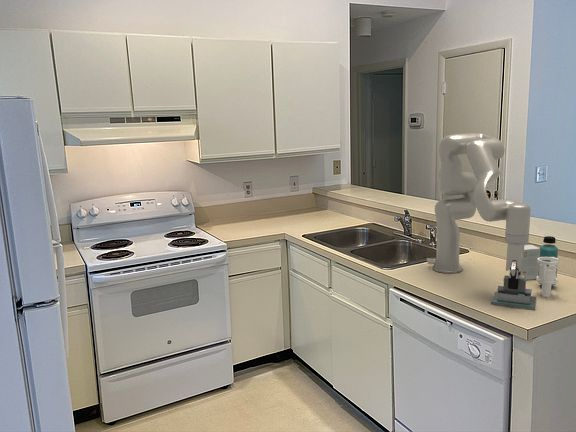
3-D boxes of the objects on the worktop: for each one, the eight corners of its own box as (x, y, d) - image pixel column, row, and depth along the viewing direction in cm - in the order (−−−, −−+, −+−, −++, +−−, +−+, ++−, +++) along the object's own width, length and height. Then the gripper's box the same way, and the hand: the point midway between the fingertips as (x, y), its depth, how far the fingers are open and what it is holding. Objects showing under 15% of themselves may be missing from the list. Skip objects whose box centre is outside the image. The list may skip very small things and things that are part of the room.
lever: (496, 299, 177) (497, 275, 176) (498, 295, 181) (499, 272, 179) (530, 303, 172) (532, 278, 170) (531, 299, 176) (532, 275, 174)
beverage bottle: (558, 286, 190) (561, 236, 186) (553, 291, 185) (557, 239, 181) (540, 282, 194) (543, 233, 190) (535, 287, 190) (537, 237, 186)
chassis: (491, 304, 175) (491, 292, 174) (494, 294, 185) (495, 282, 184) (534, 310, 169) (535, 297, 168) (536, 299, 178) (537, 287, 177)
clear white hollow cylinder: (550, 300, 176) (553, 260, 174) (531, 295, 182) (533, 256, 179) (560, 295, 181) (563, 256, 178) (541, 290, 186) (543, 252, 183)
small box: (530, 274, 205) (531, 244, 202) (539, 279, 199) (541, 248, 196) (511, 275, 204) (513, 245, 202) (520, 280, 198) (521, 249, 195)
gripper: (507, 231, 181) (505, 275, 185) (502, 243, 166) (500, 291, 170) (530, 233, 178) (527, 278, 181) (527, 245, 163) (524, 294, 167)
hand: (514, 284), depth 176 cm, fingers open, 9 cm apart
